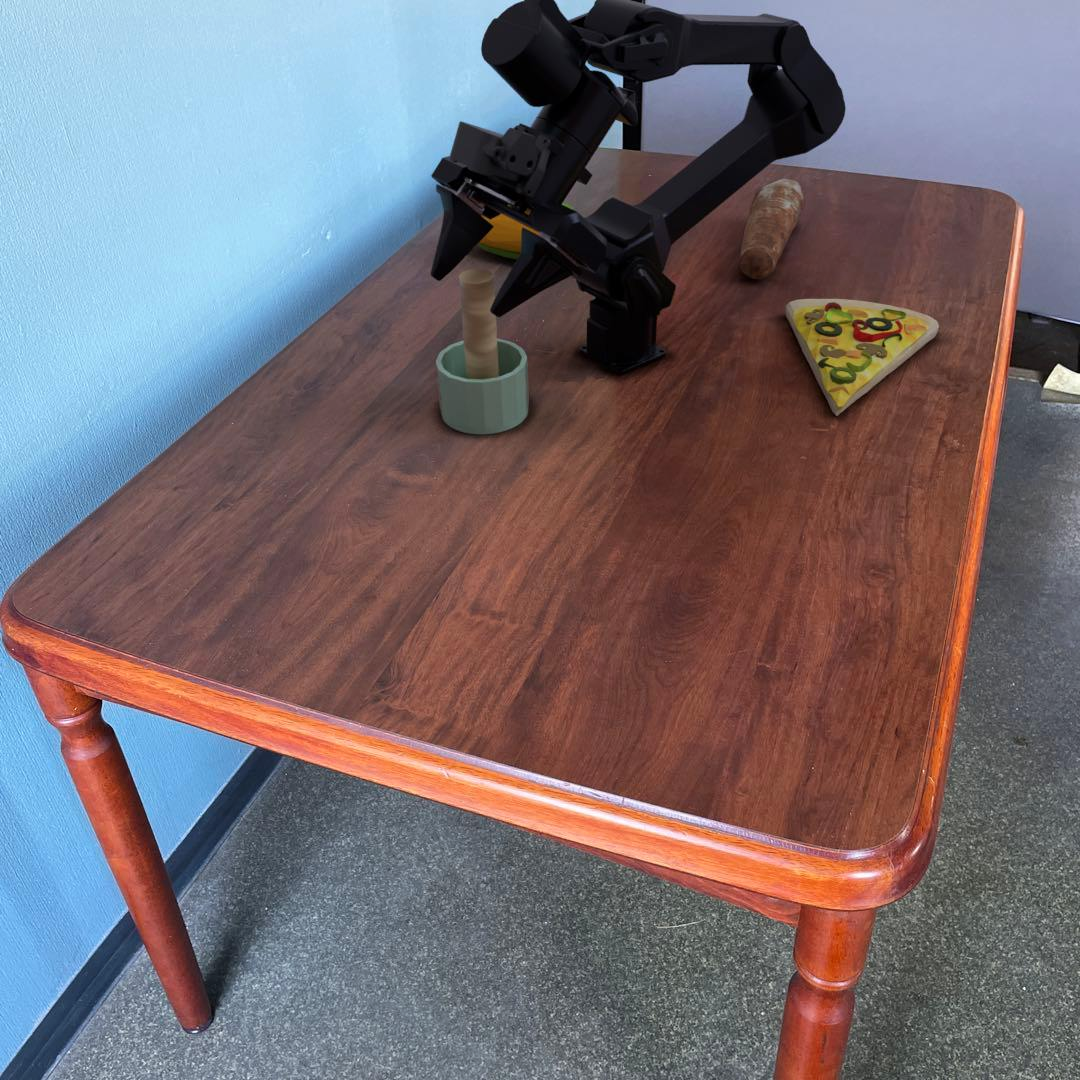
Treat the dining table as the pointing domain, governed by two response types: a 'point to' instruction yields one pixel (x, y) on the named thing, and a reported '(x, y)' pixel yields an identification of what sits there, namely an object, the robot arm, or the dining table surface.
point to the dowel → (479, 324)
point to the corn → (505, 236)
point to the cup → (483, 391)
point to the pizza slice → (855, 343)
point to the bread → (770, 226)
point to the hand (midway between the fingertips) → (463, 295)
